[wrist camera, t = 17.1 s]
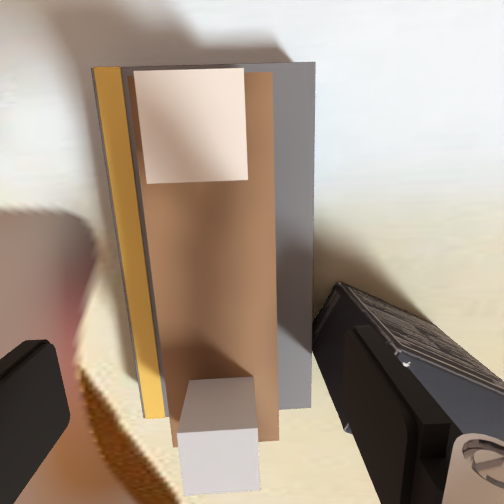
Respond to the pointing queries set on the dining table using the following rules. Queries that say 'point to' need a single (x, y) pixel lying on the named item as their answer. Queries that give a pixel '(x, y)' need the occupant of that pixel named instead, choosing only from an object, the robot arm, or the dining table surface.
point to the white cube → (219, 437)
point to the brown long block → (218, 268)
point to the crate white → (192, 124)
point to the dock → (286, 225)
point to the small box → (410, 359)
